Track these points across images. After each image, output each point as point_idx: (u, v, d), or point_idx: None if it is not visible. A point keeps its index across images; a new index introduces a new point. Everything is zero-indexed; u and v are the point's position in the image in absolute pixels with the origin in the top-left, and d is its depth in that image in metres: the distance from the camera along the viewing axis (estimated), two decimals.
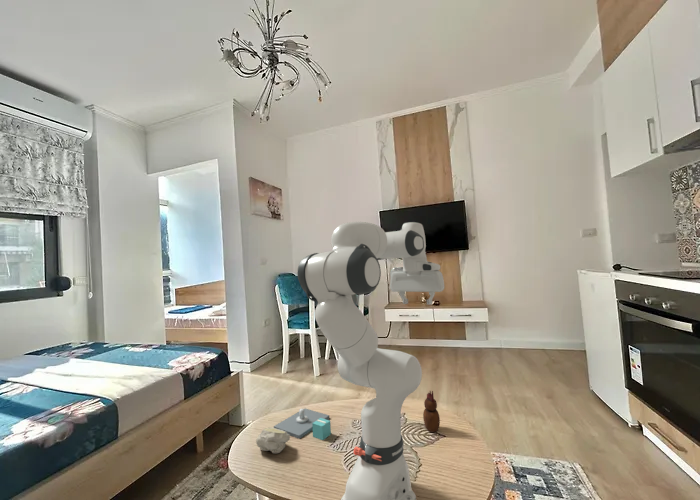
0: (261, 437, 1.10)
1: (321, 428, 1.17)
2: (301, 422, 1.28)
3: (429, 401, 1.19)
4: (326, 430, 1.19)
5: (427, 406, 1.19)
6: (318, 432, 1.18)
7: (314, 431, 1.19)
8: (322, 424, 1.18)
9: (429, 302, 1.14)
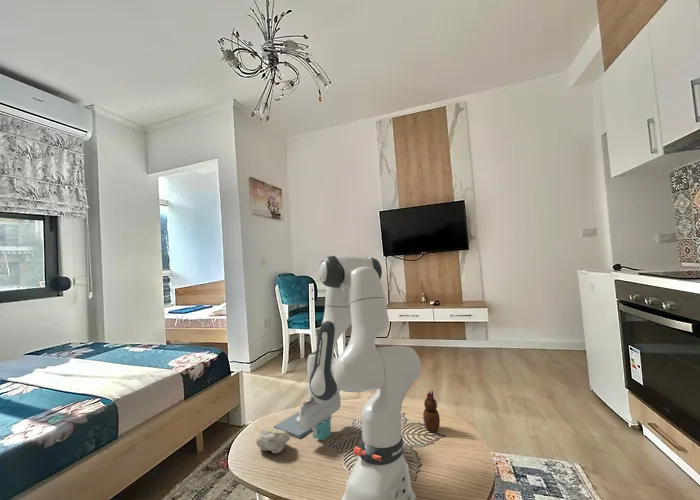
0: (261, 437, 1.10)
1: (321, 428, 1.17)
2: None
3: (429, 401, 1.19)
4: (326, 430, 1.19)
5: (427, 406, 1.19)
6: None
7: None
8: (322, 424, 1.18)
9: None
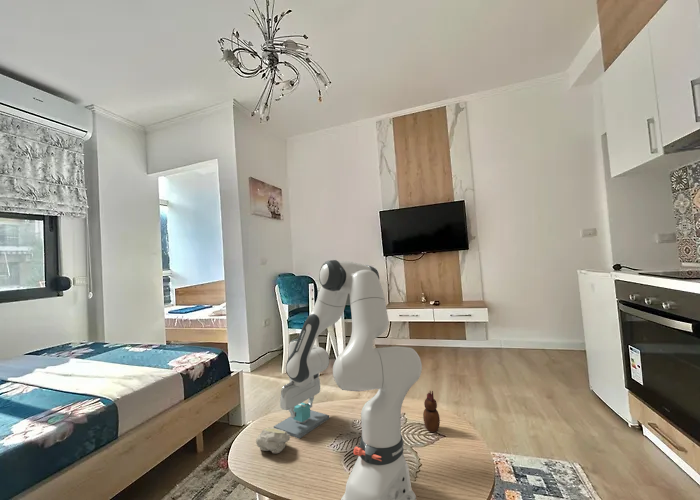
0: (261, 437, 1.10)
1: (301, 411, 1.27)
2: (301, 422, 1.28)
3: (429, 401, 1.19)
4: (305, 413, 1.29)
5: (427, 406, 1.19)
6: (298, 415, 1.28)
7: None
8: (302, 407, 1.28)
9: (311, 405, 1.34)
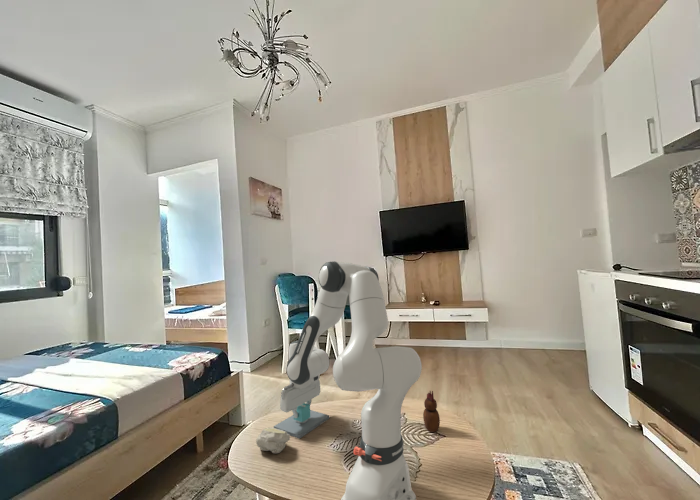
0: (261, 437, 1.10)
1: (301, 411, 1.27)
2: (301, 422, 1.28)
3: (429, 401, 1.19)
4: (305, 413, 1.29)
5: (427, 406, 1.19)
6: None
7: None
8: (302, 407, 1.28)
9: None
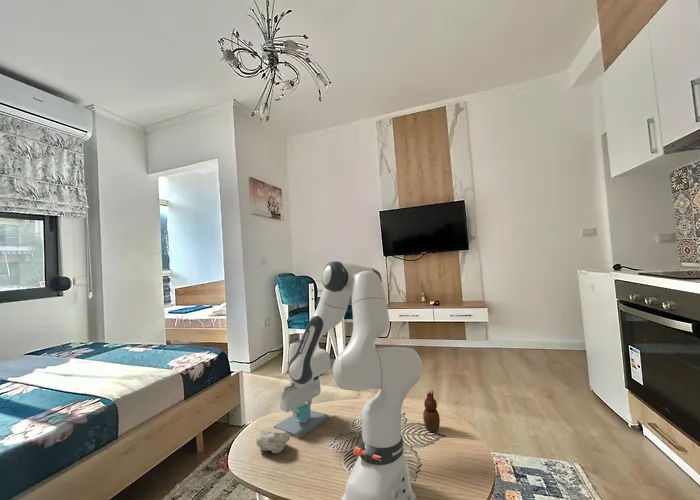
0: (261, 437, 1.10)
1: (309, 408, 1.30)
2: (301, 422, 1.28)
3: (429, 401, 1.19)
4: None
5: (427, 406, 1.19)
6: (306, 413, 1.29)
7: (302, 415, 1.27)
8: (306, 405, 1.30)
9: None
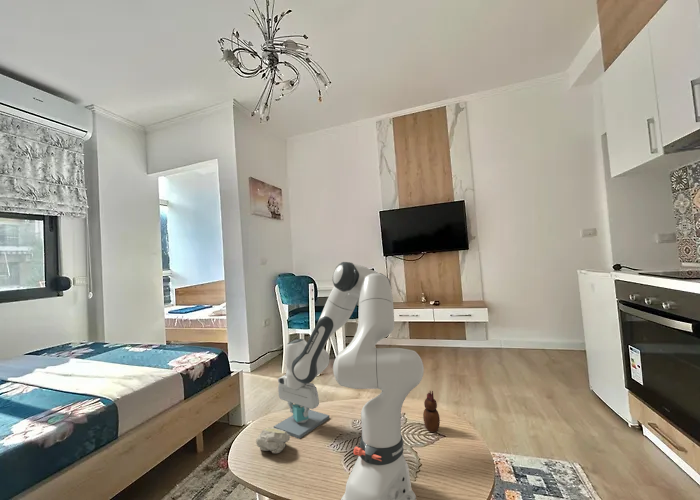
0: (261, 437, 1.10)
1: None
2: (301, 422, 1.28)
3: (429, 401, 1.19)
4: None
5: (427, 406, 1.19)
6: None
7: None
8: None
9: None
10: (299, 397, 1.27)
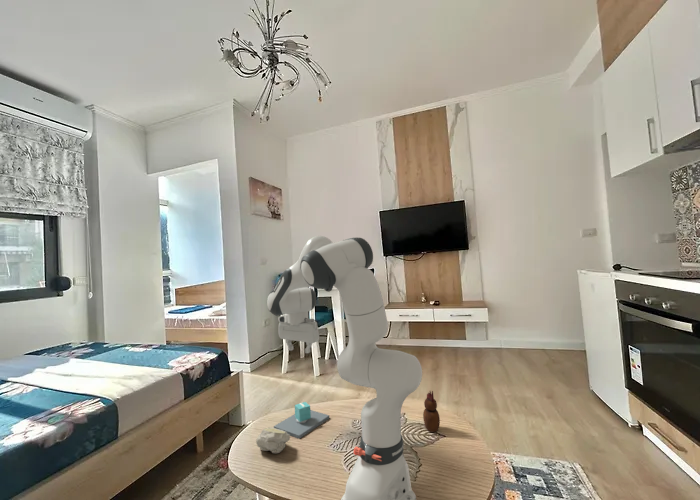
0: (261, 437, 1.10)
1: None
2: (301, 422, 1.28)
3: (429, 401, 1.19)
4: None
5: (427, 406, 1.19)
6: None
7: None
8: (303, 403, 1.33)
9: None
10: (299, 333, 1.29)
